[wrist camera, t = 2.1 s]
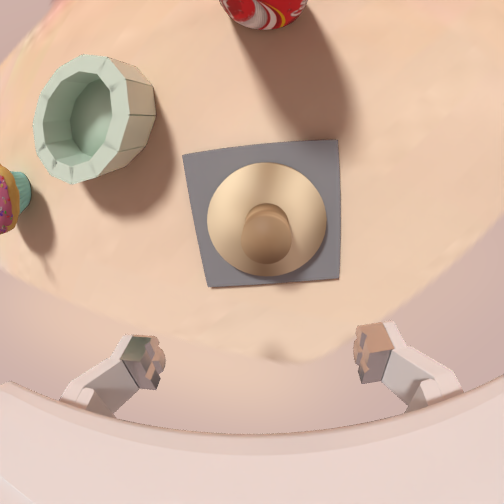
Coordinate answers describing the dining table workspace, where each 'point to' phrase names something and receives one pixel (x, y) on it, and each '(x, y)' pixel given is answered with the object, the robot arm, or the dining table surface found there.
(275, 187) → the lid
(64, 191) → the dining table surface
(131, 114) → the bowl
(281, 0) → the soda can
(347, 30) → the dining table surface
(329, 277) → the mat
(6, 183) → the cupcake
